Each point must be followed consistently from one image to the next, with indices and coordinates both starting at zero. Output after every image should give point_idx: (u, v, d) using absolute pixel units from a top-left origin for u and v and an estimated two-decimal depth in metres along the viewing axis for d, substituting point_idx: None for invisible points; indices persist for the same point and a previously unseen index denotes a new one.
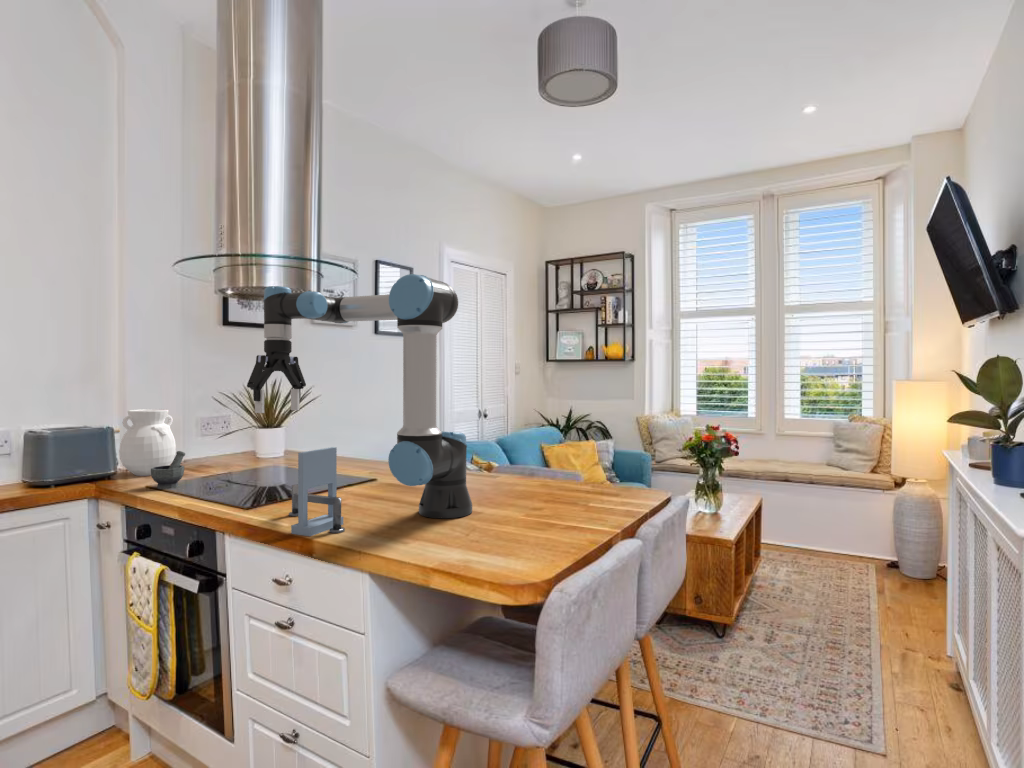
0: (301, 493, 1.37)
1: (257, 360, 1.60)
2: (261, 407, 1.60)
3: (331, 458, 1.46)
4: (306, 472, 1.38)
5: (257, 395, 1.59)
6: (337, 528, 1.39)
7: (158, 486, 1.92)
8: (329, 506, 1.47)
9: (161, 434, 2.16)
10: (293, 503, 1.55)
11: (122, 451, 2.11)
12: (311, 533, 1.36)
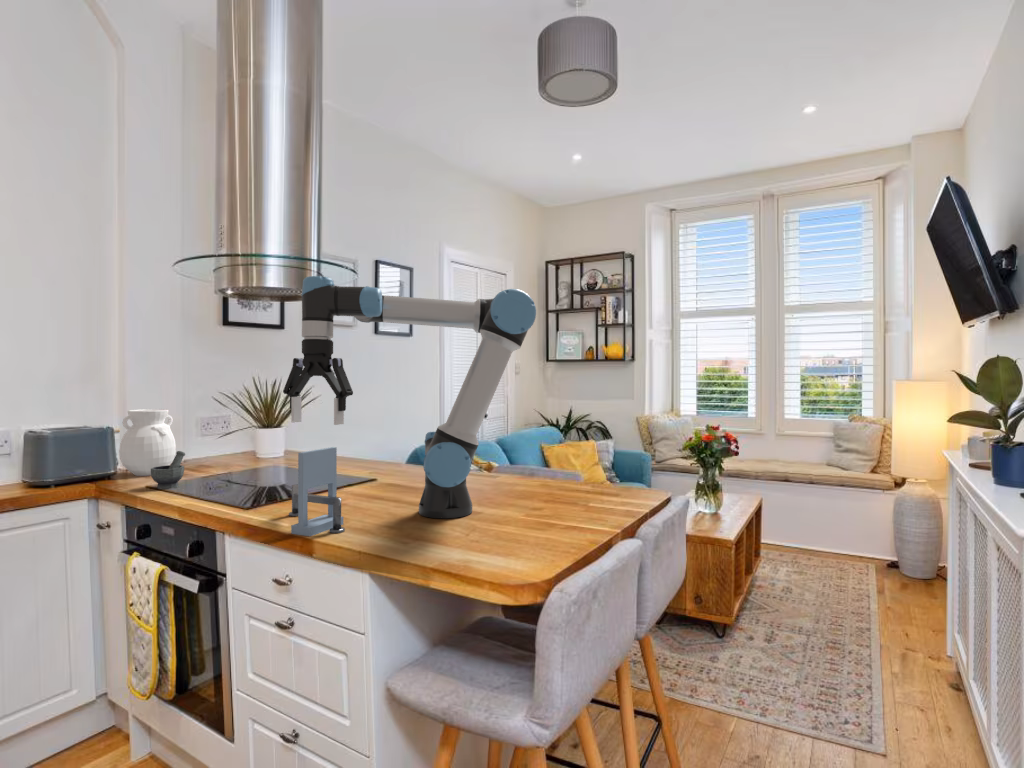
0: (301, 493, 1.37)
1: None
2: None
3: (331, 458, 1.46)
4: (306, 472, 1.38)
5: (290, 402, 1.45)
6: (337, 528, 1.39)
7: (158, 486, 1.92)
8: (329, 506, 1.47)
9: (161, 434, 2.16)
10: (293, 503, 1.55)
11: (122, 451, 2.11)
12: (311, 533, 1.36)
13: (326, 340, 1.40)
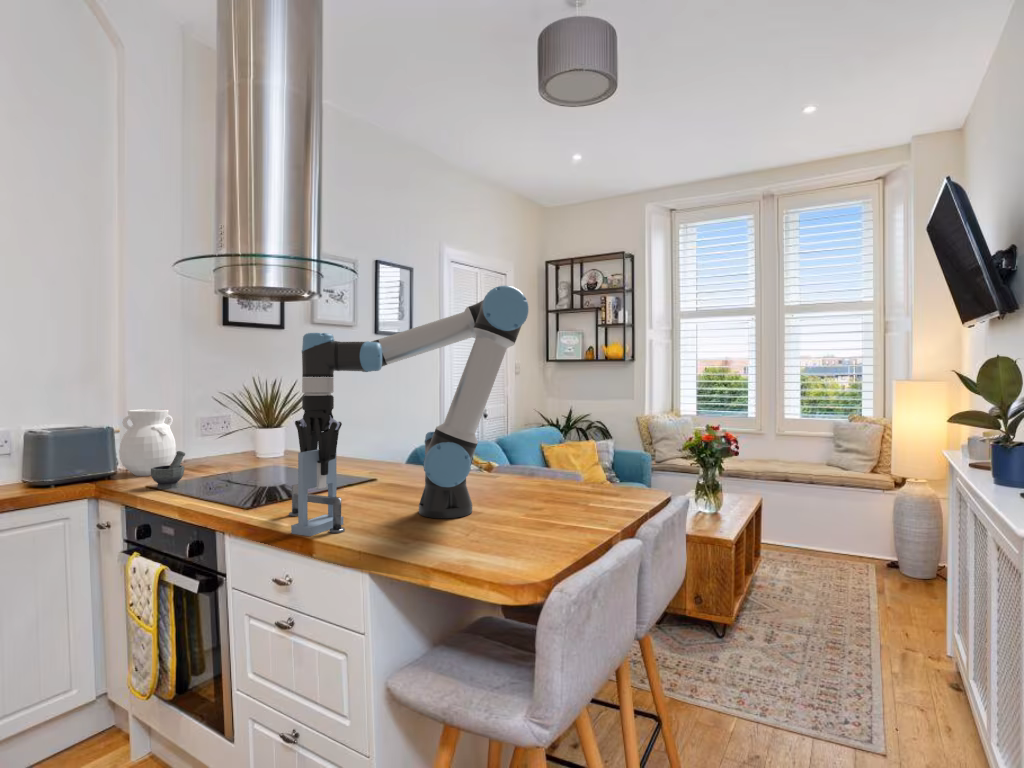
0: (301, 492, 1.37)
1: None
2: None
3: None
4: (306, 472, 1.38)
5: None
6: (337, 528, 1.39)
7: (158, 486, 1.92)
8: (329, 506, 1.47)
9: (161, 434, 2.16)
10: (293, 503, 1.55)
11: (122, 451, 2.11)
12: (311, 533, 1.36)
13: (326, 396, 1.40)
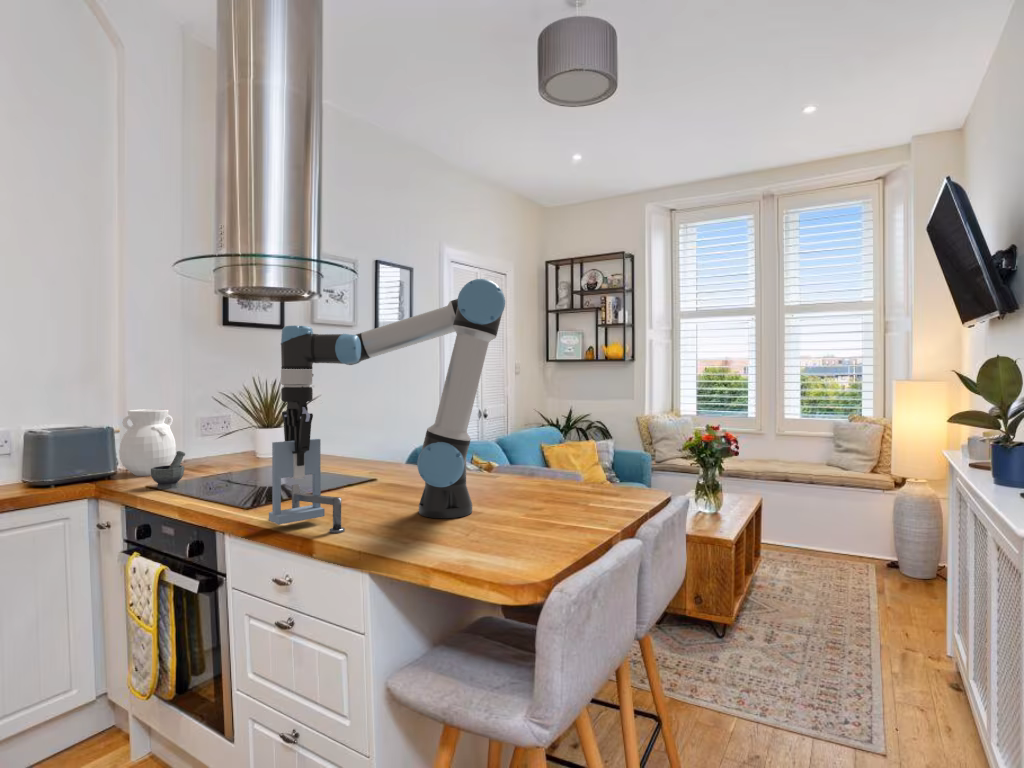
0: (273, 481, 1.41)
1: None
2: None
3: (312, 449, 1.47)
4: (279, 461, 1.41)
5: None
6: (337, 528, 1.39)
7: (158, 486, 1.92)
8: None
9: (161, 434, 2.16)
10: (293, 503, 1.55)
11: (122, 451, 2.11)
12: (280, 521, 1.39)
13: (300, 388, 1.42)
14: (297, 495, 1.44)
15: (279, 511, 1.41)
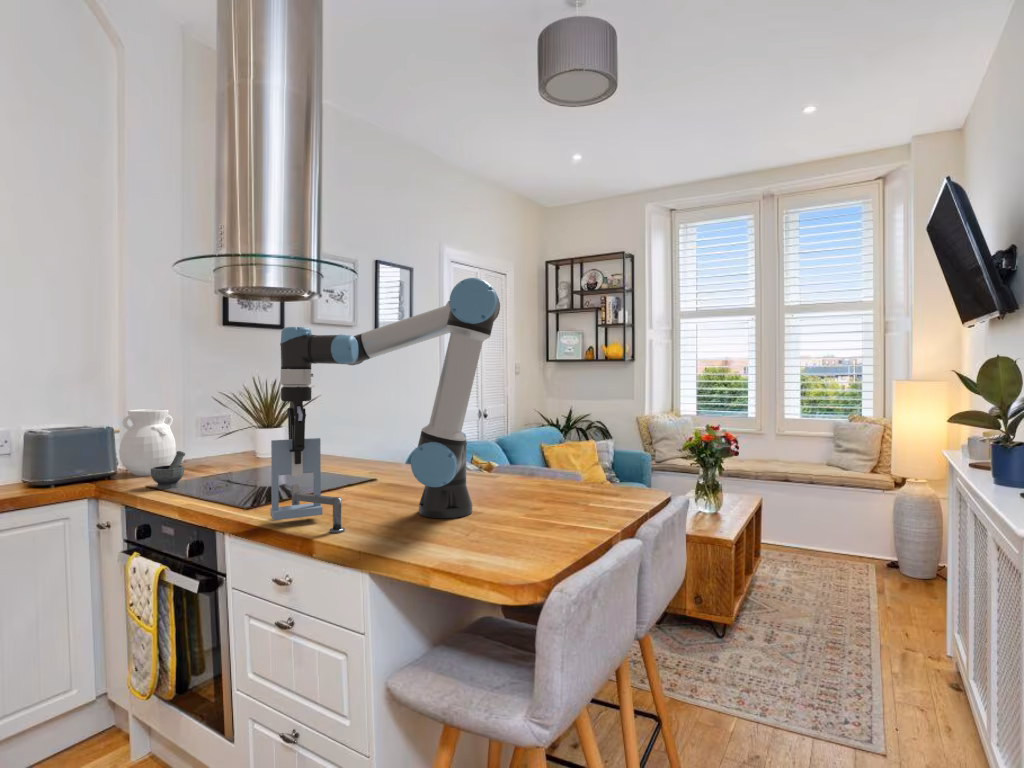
0: (271, 478, 1.45)
1: None
2: None
3: (312, 448, 1.50)
4: (276, 459, 1.45)
5: None
6: (337, 528, 1.39)
7: (158, 486, 1.92)
8: None
9: (161, 434, 2.16)
10: (293, 503, 1.55)
11: (122, 451, 2.11)
12: (275, 517, 1.43)
13: (295, 388, 1.45)
14: (297, 495, 1.44)
15: (277, 507, 1.46)
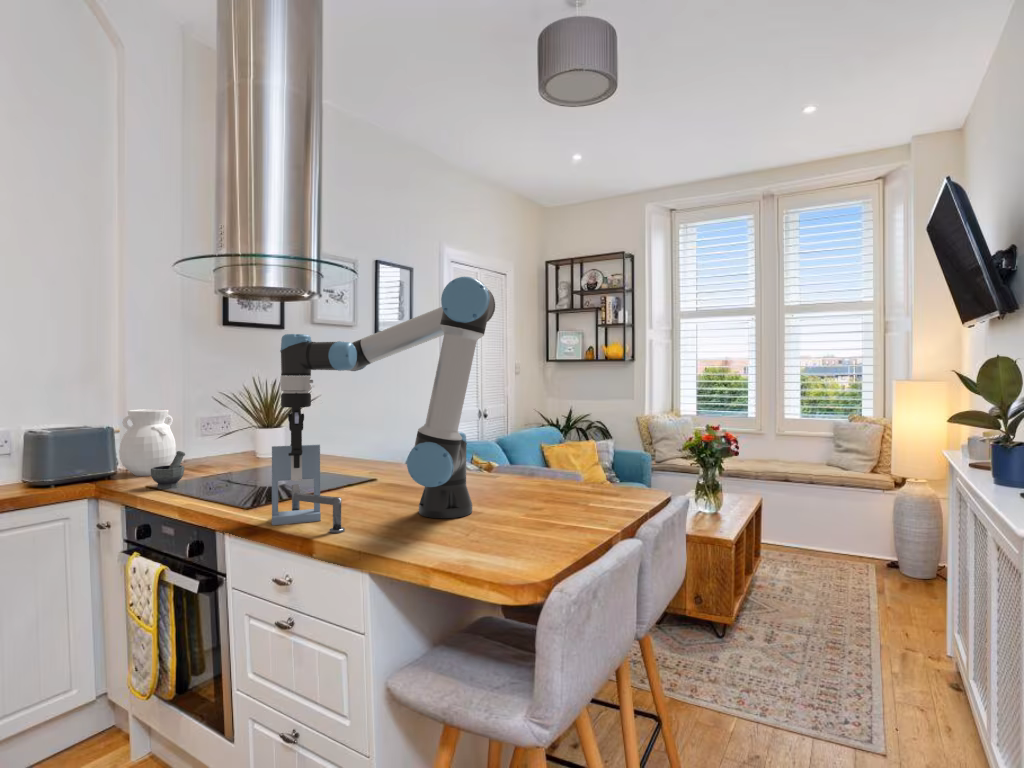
0: None
1: None
2: None
3: (311, 454, 1.51)
4: (276, 465, 1.48)
5: None
6: (337, 528, 1.39)
7: (158, 486, 1.92)
8: None
9: (161, 434, 2.16)
10: (293, 503, 1.55)
11: (122, 451, 2.11)
12: (273, 522, 1.46)
13: (293, 394, 1.47)
14: (297, 495, 1.44)
15: (276, 512, 1.48)
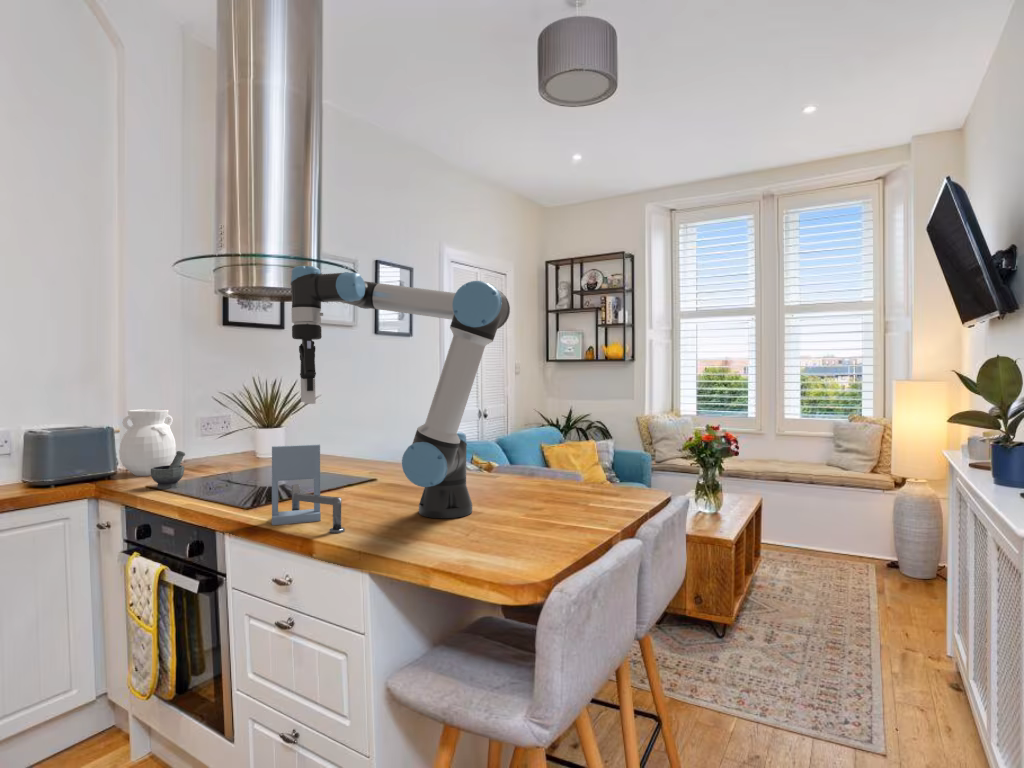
0: None
1: None
2: None
3: (311, 454, 1.51)
4: (276, 465, 1.48)
5: None
6: (337, 528, 1.39)
7: (158, 486, 1.92)
8: None
9: (161, 434, 2.16)
10: (293, 503, 1.55)
11: (122, 451, 2.11)
12: (273, 522, 1.46)
13: (304, 325, 1.49)
14: (297, 495, 1.44)
15: (276, 512, 1.48)
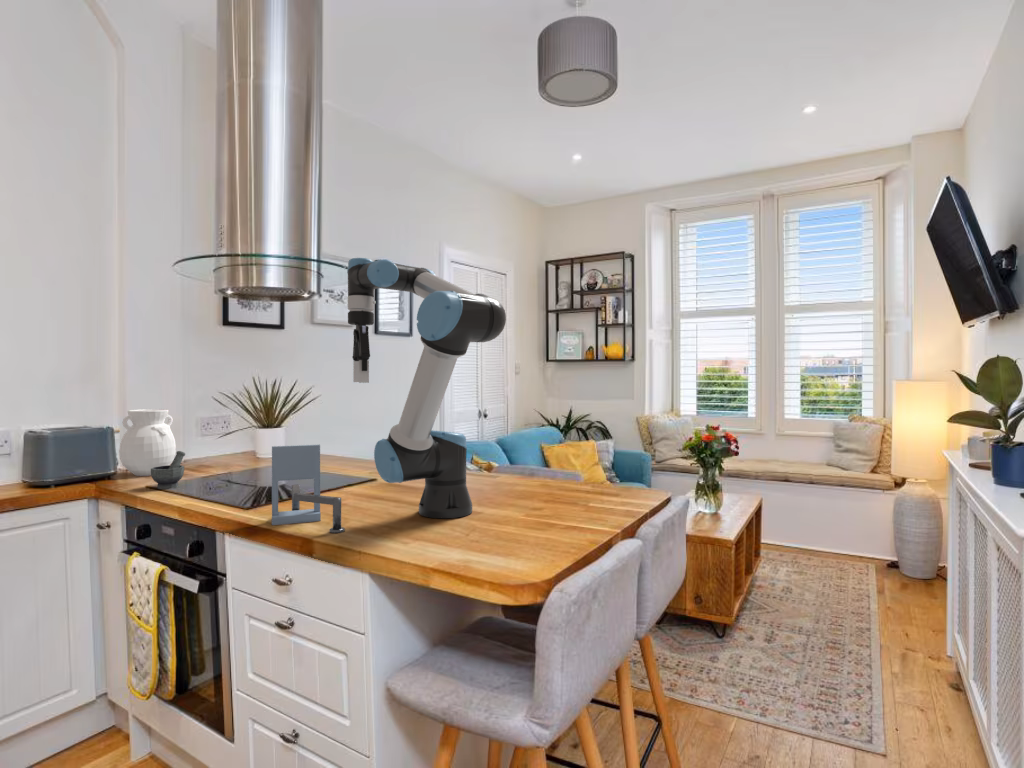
0: None
1: None
2: None
3: (311, 454, 1.51)
4: (276, 465, 1.48)
5: None
6: (337, 528, 1.39)
7: (158, 486, 1.92)
8: None
9: (161, 434, 2.16)
10: (293, 503, 1.55)
11: (122, 451, 2.11)
12: (273, 522, 1.46)
13: (360, 311, 1.65)
14: (297, 495, 1.44)
15: (276, 512, 1.48)
